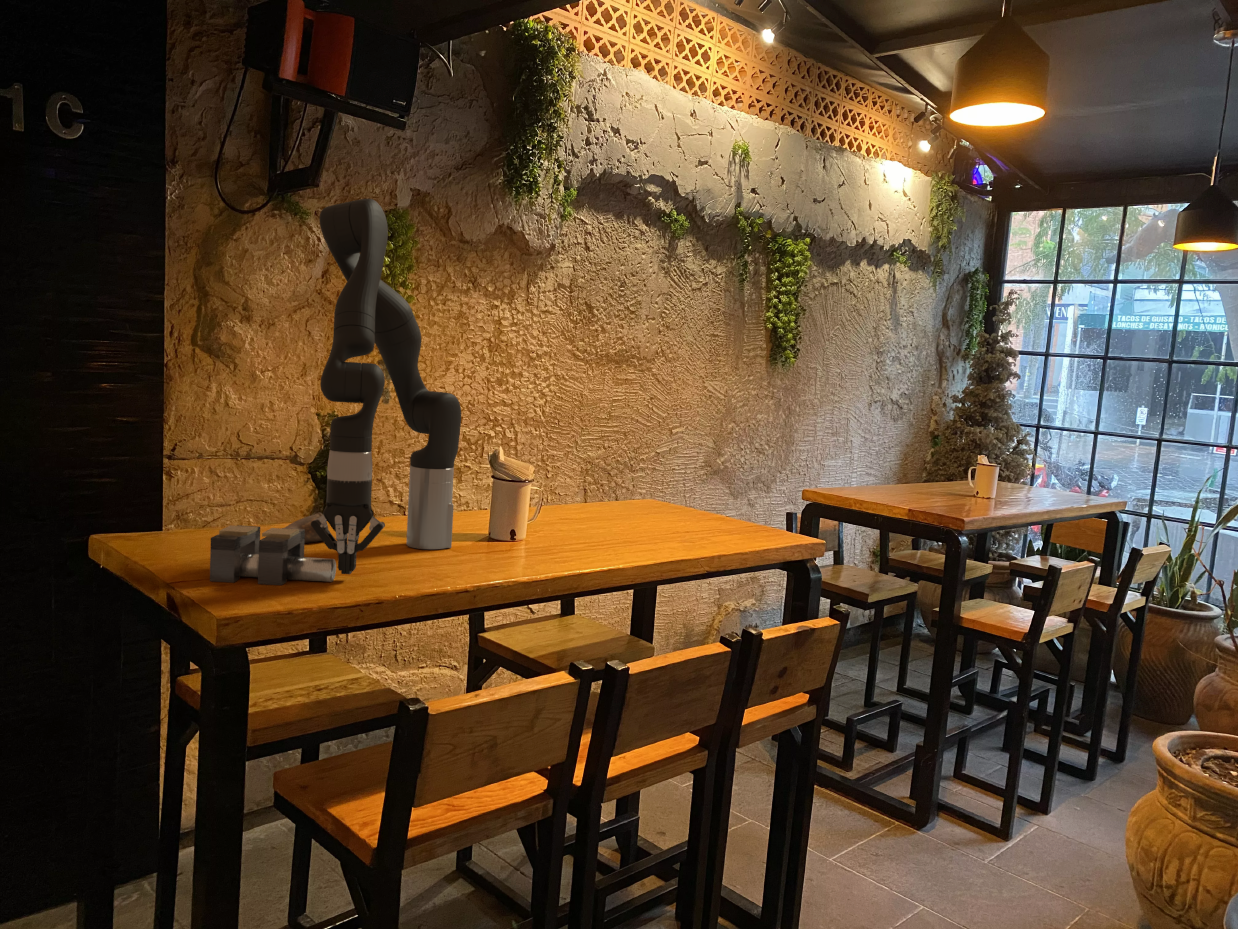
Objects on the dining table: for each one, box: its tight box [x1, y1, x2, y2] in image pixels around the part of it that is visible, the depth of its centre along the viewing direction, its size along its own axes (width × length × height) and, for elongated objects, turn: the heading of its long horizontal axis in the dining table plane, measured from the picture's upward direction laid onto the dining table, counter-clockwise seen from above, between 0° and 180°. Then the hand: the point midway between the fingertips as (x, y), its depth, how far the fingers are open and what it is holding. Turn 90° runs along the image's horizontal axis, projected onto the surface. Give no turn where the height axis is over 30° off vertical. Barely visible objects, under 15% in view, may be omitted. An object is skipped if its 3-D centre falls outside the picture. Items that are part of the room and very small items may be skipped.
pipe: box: [284, 512, 329, 544], centre depth 181 cm, size 6×17×10 cm
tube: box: [240, 553, 337, 583], centre depth 154 cm, size 18×4×4 cm
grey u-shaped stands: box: [209, 524, 305, 586], centre depth 155 cm, size 12×12×8 cm
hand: (346, 573), depth 156 cm, fingers closed
